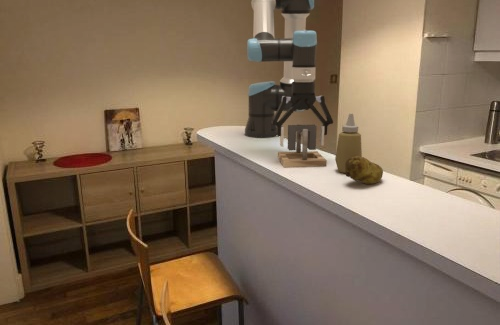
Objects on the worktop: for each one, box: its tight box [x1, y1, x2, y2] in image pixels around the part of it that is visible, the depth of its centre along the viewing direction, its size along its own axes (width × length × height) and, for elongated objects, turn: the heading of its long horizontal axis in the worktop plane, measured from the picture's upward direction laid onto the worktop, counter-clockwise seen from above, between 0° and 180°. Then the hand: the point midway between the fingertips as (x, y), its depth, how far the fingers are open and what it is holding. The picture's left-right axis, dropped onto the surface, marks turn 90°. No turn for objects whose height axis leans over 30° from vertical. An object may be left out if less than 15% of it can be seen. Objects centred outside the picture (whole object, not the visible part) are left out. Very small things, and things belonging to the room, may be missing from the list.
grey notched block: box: [287, 124, 317, 152], centre depth 138 cm, size 9×3×8 cm, turn 95°
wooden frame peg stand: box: [277, 123, 328, 169], centre depth 139 cm, size 13×14×12 cm
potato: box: [345, 156, 384, 185], centre depth 116 cm, size 8×13×8 cm, turn 104°
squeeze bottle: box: [334, 113, 363, 174], centre depth 126 cm, size 8×8×18 cm
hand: (301, 145), depth 139 cm, fingers open, 13 cm apart
